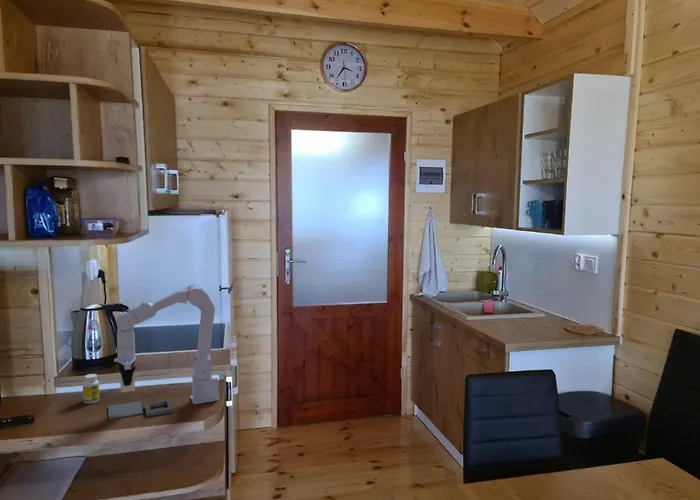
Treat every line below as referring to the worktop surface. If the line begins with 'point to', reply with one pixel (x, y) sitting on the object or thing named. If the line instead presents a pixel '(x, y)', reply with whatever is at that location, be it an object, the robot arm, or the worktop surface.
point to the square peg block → (129, 387)
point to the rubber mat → (125, 410)
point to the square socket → (159, 411)
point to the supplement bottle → (90, 389)
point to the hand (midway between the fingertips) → (127, 382)
